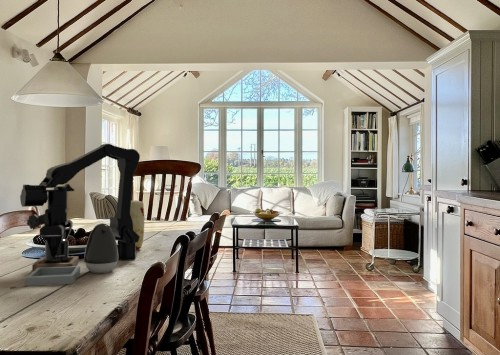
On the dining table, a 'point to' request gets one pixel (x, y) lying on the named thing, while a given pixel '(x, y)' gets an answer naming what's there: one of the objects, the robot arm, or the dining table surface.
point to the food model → (138, 220)
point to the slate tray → (53, 275)
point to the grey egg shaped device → (101, 250)
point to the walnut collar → (41, 263)
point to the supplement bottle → (61, 254)
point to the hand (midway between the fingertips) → (56, 253)
